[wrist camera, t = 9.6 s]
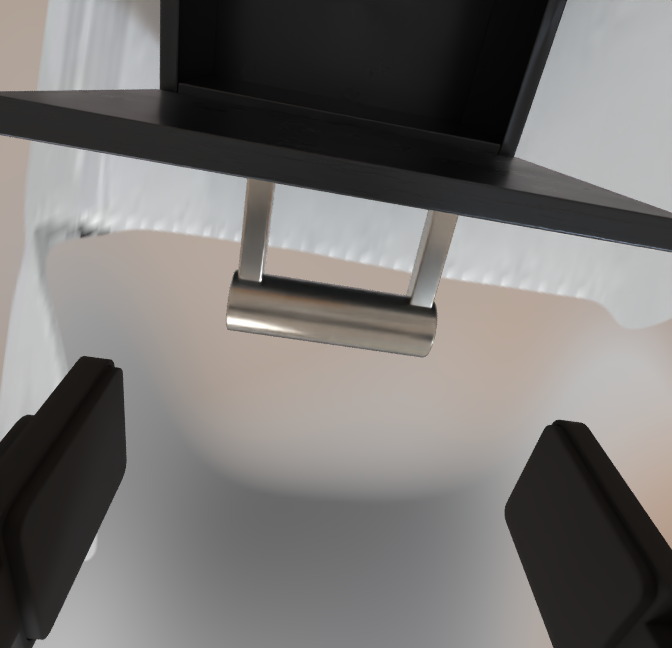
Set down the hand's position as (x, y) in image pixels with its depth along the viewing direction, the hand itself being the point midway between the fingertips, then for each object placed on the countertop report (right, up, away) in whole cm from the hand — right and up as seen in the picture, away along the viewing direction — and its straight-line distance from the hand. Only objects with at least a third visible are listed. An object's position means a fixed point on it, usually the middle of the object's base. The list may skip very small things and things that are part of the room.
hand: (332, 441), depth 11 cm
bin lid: (+1, +9, +6) cm, 11 cm away
